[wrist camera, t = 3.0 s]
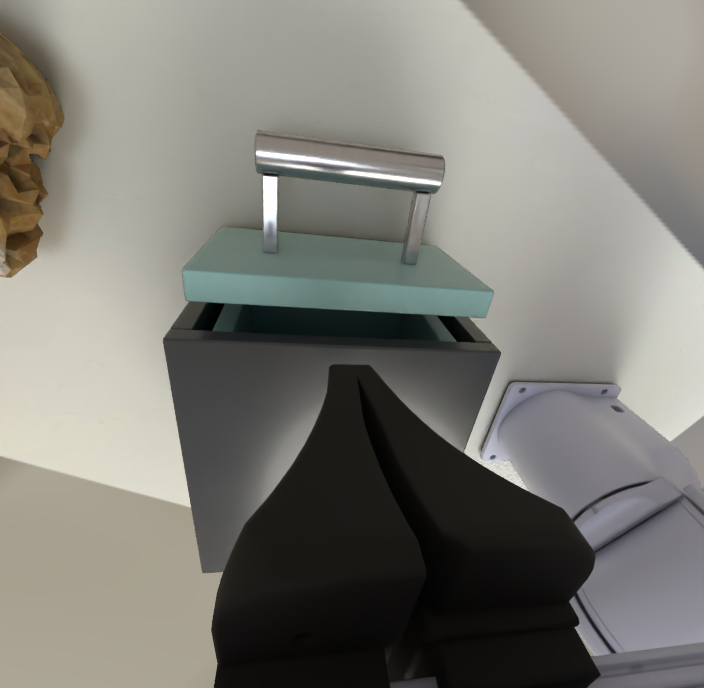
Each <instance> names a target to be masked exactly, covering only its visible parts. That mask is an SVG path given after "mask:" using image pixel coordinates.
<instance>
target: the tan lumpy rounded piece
mask: <svg viewBox="0 0 704 688" xmlns="http://www.w3.org/2000/svg"><path fill="white" fill-rule="evenodd" d="M63 121H64V115H63V112H62V108H61V105H60V103H59V101H58V99H57V98H56V96H55V94H54V92H53V90H52V88H51V86H50V85H49V83H48V81H47V79H45V80H44V78H43V76H42V73H41V72H40V71H39V70H38V69H37V68H36V67H35V66H34V65H33V64H32V63H31V62H30V61H29V60H28V59H27V57H26V56H25V55H24V54H23V53H22V52H21V51H20V50H19V48H18V47H17V46H16V45H14V44H13V43H12V42H11V41H10V40H9V39H7V38H6V37H5V36H4V35H3V34H2V33H0V277H12V276H14V275H15V274H16V273H18V272H19V271H20V270H21V269H23V268H24V267H25V266H26V265H28V264H29V263H30V262H31V261H33V260H34V259H35V258H37V252H36V249H37V246H38V243H39V240H40V237H42V235H43V232H42V230H41V228H40V227H39V225H38V224H37V223H38V221H39V220H40V218H41V217H42V215H43V212H42V209H41V206H39V203H40V202H41V201H42V200H43V199H44V198H45V197H46V196H47V194H48V193H47V191H46V189H45V187H44V186H43V183H42V177H41V172H40V168H39V167H38V166H37V165H36V164H35V163H34V162H33V161H32V160H31V159H30V156H29V154H38V155H39V156H41V157H42V158H44V159H45V160H46V158H47V157H48V155H49V153H50V152H51V150H50V145H51V141H52V138H53V136H54V135H55V134H56V133H57V131H58V130H59V128H61V127H62V124H63Z"/></svg>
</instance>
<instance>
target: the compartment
mask: <svg viewBox="0 0 704 688" xmlns="http://www.w3.org/2000/svg"><path fill="white" fill-rule="evenodd" d="M224 305H225V303H211V302H194V301H189V303H188V304H187V305H186V307H185V308H184V310H183V311H182V313H181V314H180V315H179V317H178V318H177V320H176V321H175V322H174V324H173V325H172V327H171V329H170V330H169V331H168V333H167V334H166V335H165V337H164V338H163V344H164V350H165V356H166V361H167V367H168V373H169V379H170V385H171V391H172V397H173V403H174V409H175V415H176V420H177V426H178V432H179V438H180V444H181V450H182V456H183V462H184V468H185V473H186V479H187V485H188V491H189V497H190V503H191V509H192V515H193V520H194V527H195V532H196V538H197V544H198V550H199V556H200V561H201V568H202V573H213V572H224V569H225V566H226V564H227V561H228V559H229V557H230V554H231V552H232V550H233V548H234V545H235V543H236V541H237V539H238V537H239V535H240V533H241V531H242V529H243V527H244V524H245V523H246V522H247V521H248V520H249V518H250V517H251V516H252V515H253V514H254V513H255V511H256V510H257V509H258V508H259V507H260V506H261V505H262V503H263V502H264V501H265V500H266V499H267V498H268V496H269V495H270V494H271V493H272V492H273V490H274V489H275V487H276V486H277V485H278V483H279V482H280V481H281V479H282V478H283V477H284V475H285V474H286V473H287V471H288V470H289V468H290V467H291V465H292V464H293V462H294V461H295V459H296V458H297V456H298V454H299V453H300V451H301V449H302V448H303V446H304V444H305V443H306V441H307V439H308V437H309V435H310V433H311V431H312V429H313V427H314V425H315V423H316V420H317V418H318V416H319V413H320V411H321V408H322V406H323V403H324V400H325V396H326V393H327V385H328V374H329V367H330V366H331V365H332V364H349V365H370V366H371V367H372V368H373V369H374V370H375V371H376V372H377V374H378V375H379V376H380V377H381V378H382V379H383V381H384V382H385V383H386V384H387V385H388V386H389V388H390V389H391V390H392V391H393V392H394V393H395V394H396V395H397V396H398V397H399V399H400V400H401V401H402V402H403V403H404V404H405V405H406V406H407V407H408V408H409V409H410V410H411V411H412V412H413V413H414V414H415V415H417V416H418V417H419V418H420V419H421V420H422V421H423V422H424V423H425V424H426V425H428V426H429V427H430V428H431V429H432V430H433V431H435V432H436V433H437V434H438V435H440V436H441V437H442V438H444V439H445V440H446V441H447V442H449V443H450V444H451V445H453V446H454V447H455V448H457V449H458V450H460V451H461V452H463V453H464V450H465V447H466V445H467V442H468V439H469V437H470V434H471V432H472V429H473V426H474V424H475V421H476V418H477V416H478V413H479V411H480V408H481V405H482V403H483V400H484V397H485V395H486V392H487V390H488V387H489V384H490V382H491V379H492V376H493V374H494V371H495V369H496V366H497V363H498V361H499V358H500V355H501V352H500V351H499V349H498V348H497V347H496V346H495V345H494V344H492V342H491V341H490V340H489V339H488V338H487V337H486V336H485V334H484V333H483V332H482V331H481V330H480V329H479V328H478V327H477V326H476V325H475V324H474V323H473V322H472V321H471V320H470V319H469V318H468V317H457V316H439V315H437V317H438V318H439V319H440V321H441V322H442V323H443V325H444V326H445V327H446V328H447V330H448V331H449V332H450V334H451V335H452V336H453V338H454V339H455V340H456V341H457V342H450V341H428V340H405V339H383V338H360V337H338V336H315V335H292V334H270V333H247V332H225V331H212V330H213V328H214V326H215V324H216V322H217V320H218V318H219V315H220V313H221V311H222V309H223V307H224Z"/></svg>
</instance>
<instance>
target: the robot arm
mask: <svg viewBox="0 0 704 688" xmlns="http://www.w3.org/2000/svg"><path fill="white" fill-rule="evenodd" d="M521 388H522V389H521ZM620 391H621V388H620V387H619V386H618V385H615V384H577V383H537V382H513V383H511V384H510V385H509V386H508V388H507V390H506V393H505V395H504V398H503V400H502V402H501V405H500V407H499V410H498V412H497V414H496V417H495V419H494V422H493V424H492V427H491V429H490V431H489V434H488V436H487V439H486V441H485V443H484V446H483V448H482V451H481V453H480V457H481V459H482V460H483V461H510V463H511V464H512V466H513V467H514V469H515V470H516V472H517V473H518V475H519V477H520V478H521V480H522V481H523V483H524V484H525V486H526V487H527V489H528V490H529V491H526V490H524V489H522V488H520V487H519V486H517V485H515V484H513V483H511V482H510V481H508V480H506V479H504V478H502V477H501V476H499V475H497V474H495V473H494V472H492V471H490V470H489V469H487V468H485V467H484V466H482V465H481V464H479V463H477V462H476V461H474V460H473V459H472V458H470V457H469V456H467V455H466V454H464V453H463V452H461V451H460V450H458V449H457V448H455V447H454V446H453V445H451V444H450V443H449V442H447V441H446V440H445V439H444V438H442V437H441V436H440V435H438V434H437V433H436V432H435V431H433V430H432V429H431V428H430V427H429V426H428V425H426V424H425V423H424V422H423V421H422V420H421V419H420V418H419V417H418V416H417V415H415V414H414V413H413V412H412V411H411V410H410V409H409V408H408V407H407V406H406V405H405V404H404V403H403V402H402V401H401V400H400V399H399V397H398V396H397V395H396V394H395V393H394V392H393V391H392V390H391V389H390V388H389V386H388V385H387V384H386V383H385V382H384V381H383V379H382V378H381V377H380V376H379V375H378V374H377V372H376V371H375V370H374V369H373V368H372V367H371V366H370V365H349V364H332V365H331V366H330V367H329V374H328V385H327V393H326V396H325V400H324V403H323V406H322V408H321V411H320V413H319V416H318V418H317V420H316V423H315V425H314V427H313V429H312V431H311V433H310V435H309V437H308V439H307V441H306V443H305V444H304V446H303V448H302V449H301V451H300V453H299V454H298V456H297V458H296V459H295V461H294V462H293V464H292V465H291V467H290V468H289V470H288V471H287V473H286V474H285V475H284V477H283V478H282V479H281V481H280V482H279V483H278V485H277V486H276V487H275V489H274V490H273V492H272V493H271V494H270V495H269V496H268V498H267V499H266V500H265V501H264V502H263V503H262V505H261V506H260V507H259V508H258V509H257V510H256V511H255V513H254V514H253V515H252V516H251V517H250V518H249V520H248V521H247V522H246V523H245V524H244V527H243V529H242V531H241V533H240V535H239V537H238V539H237V541H236V543H235V545H234V548H233V550H232V552H231V554H230V557H229V559H228V561H227V564H226V566H225V569H224V572H223V575H222V578H221V581H220V585H219V588H218V592H217V597H216V602H215V609H214V614H213V620H212V629H211V630H212V636H213V642H214V647H215V652H216V658H217V663H218V665H217V671H216V677H215V684H214V688H704V486H701V484H700V481H699V478H698V475H697V473H696V471H695V469H694V467H693V465H692V464H691V463H690V461H689V460H688V458H687V457H686V456H685V455H684V454H683V453H682V452H681V451H680V450H679V449H678V448H677V447H676V446H674V445H673V444H672V443H671V442H669V441H668V440H667V439H666V438H665V437H663V436H662V435H661V434H660V433H658V432H657V431H656V430H655V429H654V428H652V427H651V426H650V425H649V424H647V423H646V422H645V421H644V420H643V419H641V418H640V417H639V416H638V415H636V414H635V413H634V412H633V411H632V410H630V409H629V408H628V407H627V406H625V405H624V404H623V403H622V402H621V401H619V400H618V399H617V397H618V395H619V393H620ZM574 627H576V629H577V631H578V632H579V634H580V636H581V637H582V639H583V640H584V642H585V643H586V645H587V646H588V647H589V649H590V650H591V652H592V653H593V654H594V656H592V657H591V656H590V655H589V653H588V651H587V649H586V647H585V645H584V644H583V642H582V640H581V638H580V637H579V635H578V633H577V631H576V629H575V628H574Z"/></svg>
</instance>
